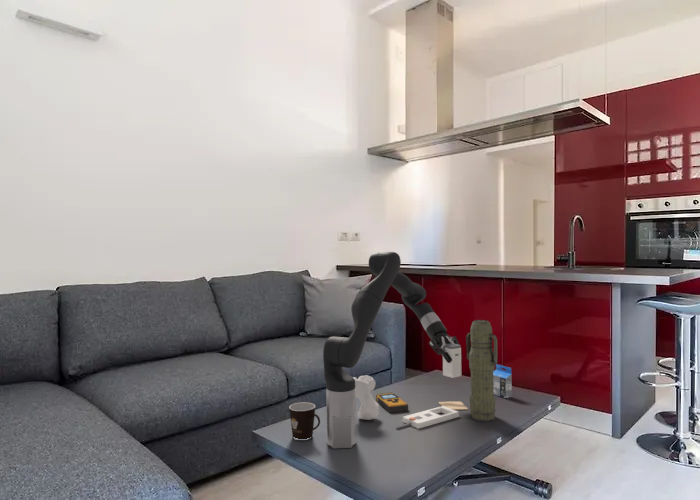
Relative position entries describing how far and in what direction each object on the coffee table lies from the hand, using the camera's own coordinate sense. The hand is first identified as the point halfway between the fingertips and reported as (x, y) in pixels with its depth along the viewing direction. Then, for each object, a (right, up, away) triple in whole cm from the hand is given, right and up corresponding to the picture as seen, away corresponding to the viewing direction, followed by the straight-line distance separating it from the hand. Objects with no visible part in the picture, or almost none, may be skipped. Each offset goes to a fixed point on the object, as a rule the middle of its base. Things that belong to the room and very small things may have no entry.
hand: (455, 360), depth 173 cm
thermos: (+7, -18, -11) cm, 22 cm away
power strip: (-14, -18, -14) cm, 27 cm away
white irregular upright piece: (-36, -18, -12) cm, 42 cm away
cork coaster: (-1, -18, +1) cm, 18 cm away
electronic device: (-25, -19, +3) cm, 31 cm away
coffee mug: (-56, -18, -29) cm, 66 cm away
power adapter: (-1, -6, +1) cm, 6 cm away
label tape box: (+22, -18, +14) cm, 32 cm away
